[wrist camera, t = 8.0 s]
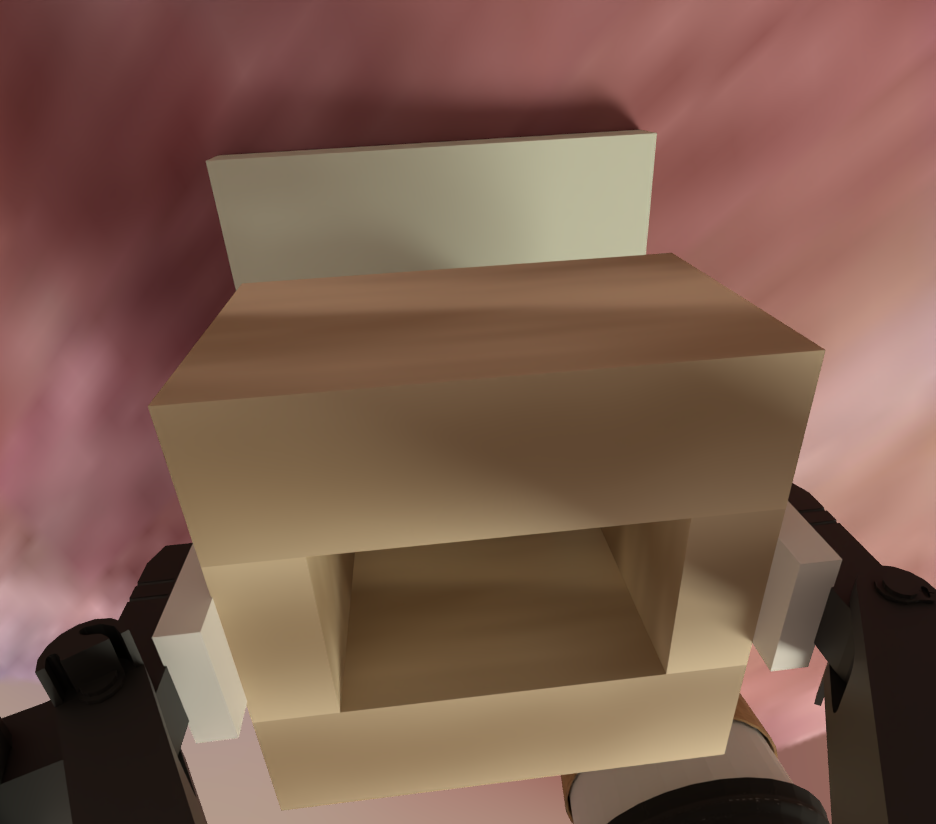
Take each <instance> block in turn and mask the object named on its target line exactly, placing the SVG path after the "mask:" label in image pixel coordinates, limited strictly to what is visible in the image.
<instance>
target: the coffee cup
mask: <svg viewBox="0 0 936 824" xmlns="http://www.w3.org/2000/svg"><path fill="white" fill-rule="evenodd" d="M561 779H562V787H563V793H564V801H565V807H566V812H567V814H568V816H569V818H570V820H571V822H572V823H573V824H830V823H829V821H828V818H827V815H826V812H825V810H824V808H823V806H822V804H821V802H820V801H819V800H818V799H817V798H816V797H815V796H814V795H812V794H811V793H810V792H809V791H807V790H805V789H803V788H801V787H799V786H796V785H794V783H793V782H792V780H791V779H790V777H789V776H788V774H787V773H786V771H785V770H784V768H783V766H782V765H781V763H780V762H779V760H778V758H777V750H776V746H775V745H774V743H773V741H772V739H771V737H770V736H769V734H768V733H767V731H766V730H765V729H764V727H763V726H762V724H761V723H760V721H759V720H758V718H757V717H756V716H755V714H754V713H753V711H752V710H751V708H750V707H749V705H748V704H747V703H746V701H745V700H744V698H743V697H742V695H741V694H739V698H738V702H737V706H736V710H735V714H734V718H733V722H732V726H731V730H730V734H729V738H728V742H727V746H726V750H725V754H722V755H715V756H707V757H699V758H691V759H683V760H675V761H667V762H660V763H652V764H644V765H636V766H628V767H620V768H612V769H604V770H597V771H589V772H581V773H573V774H565V775H561Z"/></svg>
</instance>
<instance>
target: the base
mask: <svg viewBox="0 0 936 824" xmlns="http://www.w3.org/2000/svg"><path fill="white" fill-rule="evenodd" d="M656 136H657V133H654V132H649V131H644V130H627V131H610V132H594V133H578V134H561V135H545V136H528V137H512V138H496V139H479V140H463V141H447V142H430V143H414V144H397V145H381V146H365V147H348V148H332V149H316V150H299V151H283V152H266V153H250V154H234V155H218V156H216V157H213V158H211V159H209V160H207V161H206V165H207V169H208V173H209V178H210V182H211V186H212V190H213V195H214V199H215V203H216V207H217V212H218V216H219V220H220V225H221V229H222V233H223V237H224V242H225V246H226V250H227V254H228V259H229V263H230V267H231V272H232V276H233V280H234V284H235V289H236V291H237V289H238V288H239V287H240V285H241V284H242V283H256V282H270V281H284V280H298V279H312V278H326V277H340V276H354V275H368V274H382V273H396V272H410V271H424V270H439V269H453V268H467V267H481V266H495V265H509V264H523V263H537V262H551V261H565V260H579V259H593V258H607V257H621V256H635V255H646V246H647V235H648V224H649V213H650V202H651V191H652V180H653V169H654V158H655V147H656Z"/></svg>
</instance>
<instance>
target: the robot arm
mask: <svg viewBox="0 0 936 824" xmlns="http://www.w3.org/2000/svg"><path fill="white" fill-rule="evenodd" d="M752 643H753V644H754V646H755V648H756V649H757V651H758V652H759V654H760V655H761V657H762V659H763V660H764V662H765V663H766V665H767V667H768V668H769V670H770V671H778V670H786V669H794V668H802V667H808V666H809V662H810V659H811V656H812V653H813V650H814V647H815V645H816V646H817V648H818V649H819V650H820V652H821V653H822V654H823V656H824V657H825V659H826V660H827V661H828V663H827V666H826V669H825V671H824V674H823V677H822V680H821V683H820V686H819V689H818V692H817V695H816V699H815V703H814V704H816V705H820V706H821V704H822V701H823V698H825V715H826V732H827V748H828V765H829V782H830V799H831V813H832V814H831V815H832V824H936V589H935V588H933V587H932V586H931V585H930V584H929V583H928V582H926V581H925V580H924V579H922V578H920V577H918V576H916V575H914V574H913V573H911V572H908V571H905V570H902V569H899V568H896V567H891V566H882V565H881V564H880V563H879V562H878V561H877V560H876V559H875V558H874V557H873V556H872V555H871V554H870V553H869V552H868V551H867V550H866V549H865V548H864V547H863V546H862V545H861V544H860V543H859V542H858V541H857V540H856V539H855V538H854V537H853V536H852V535H851V534H850V533H849V532H848V531H847V530H846V529H845V528H844V527H843V526H842V525H841V524H840V523H837V522H836V519H835V518H834V517H833V516H832V515H831V514H830V513H829V512H828V511H825V510H824V507H823V506H822V505H821V504H820V503H819V502H818V501H817V500H816V499H815V498H814V497H813V496H812V495H811V494H810V493H809V492H807V491H805V490H804V489H802V488H800V487H798V486H797V485H795V484H793V483H792V486H791V490H790V494H789V498H788V502H787V506H786V510H785V514H784V518H783V522H782V526H781V530H780V534H779V538H778V541H777V545H776V549H775V553H774V557H773V561H772V565H771V569H770V573H769V577H768V581H767V585H766V589H765V593H764V597H763V601H762V605H761V610H760V614H759V618H758V622H757V626H756V630H755V634H754V638H753V642H752ZM35 673H36V675H37V676H38V678H39V680H40V682H41V684H42V685H43V687H44V689H45V690H46V692H47V694H48V696H49V698H50V699H51V700H50V701H48V702H45V703H43V704H40V705H37V706H35V707H32V708H29V709H26V710H24V711H21V712H18V713H16V714H13V715H10V716H7V717H4V718H2V719H1V717H0V824H207V821H206V819H205V815H204V812H203V810H202V806H201V803H200V801H199V798H198V795H197V792H196V789H195V786H194V783H193V780H192V777H191V774H190V771H189V768H188V765H187V762H186V759H185V757H184V755H183V752H182V750H181V745H182V742H183V739H184V735H185V732H186V729H187V726H188V725H189V728H190V730H191V733H192V735H193V737H194V740H195V742H196V743H203V742H212V741H219V740H227V739H235V738H239V735H240V731H241V726H242V722H243V717H244V714H245V709H246V705H247V699H246V696H245V693H244V690H243V687H242V684H241V681H240V678H239V675H238V672H237V669H236V666H235V663H234V660H233V657H232V654H231V651H230V648H229V645H228V642H227V639H226V636H225V633H224V630H223V627H222V624H221V621H220V618H219V615H218V612H217V609H216V606H215V603H214V600H213V598H211V596H210V593H209V590H208V587H207V584H206V581H205V578H204V575H203V572H202V569H201V566H200V563H199V560H198V557H197V554H196V551H195V548H194V545H193V543H188V544H178V545H169V546H165V547H164V548H163V549H162V550H161V551H160V552H159V553H158V554H157V555H156V556H155V557H153V558H152V559H151V560H150V561H149V562H148V563H147V565H146V567H145V569H144V571H143V573H142V575H141V577H140V579H139V581H138V586H136V587H135V588H134V590H133V592H132V594H131V596H130V602H127V604H126V606H125V608H124V610H123V612H122V614H121V616H120V618H119V620H115V619H112V618H106V619H94V620H91V621H88V622H85V623H82V624H79V625H77V626H75V627H73V628H71V629H69V630H68V631H66V632H64V633H62V634H61V635H60V636H58V637H57V638H56V639H55V640H54V641H53V642H51V643H50V644H49V645H48V646H47V647H46V648H45V650H44V651H43V653H42V654H41V656H40V657H39V659H38V660H37V666H36V671H35Z"/></svg>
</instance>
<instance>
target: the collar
mask: <svg viewBox="0 0 936 824" xmlns="http://www.w3.org/2000/svg"><path fill="white" fill-rule="evenodd" d="M824 354H825V349H823V348H822V347H820V346H818V345H817V344H815V343H814V342H812V341H810V340H809V339H807V338H806V337H804V336H803V335H801V334H799V333H798V332H796V331H795V330H793V329H791V328H790V327H788V326H787V325H785V324H784V323H782V322H780V321H779V320H777V319H776V318H774V317H773V316H771V315H769V314H768V313H766V312H765V311H763V310H761V309H760V308H758V307H757V306H755V305H754V304H752V303H750V302H749V301H747V300H746V299H744V298H742V297H741V296H739V295H738V294H736V293H735V292H733V291H731V290H730V289H728V288H727V287H725V286H723V285H722V284H720V283H719V282H717V281H716V280H714V279H712V278H711V277H709V276H708V275H706V274H704V273H703V272H701V271H700V270H698V269H697V268H695V267H693V266H692V265H690V264H689V263H687V262H686V261H684V260H682V259H681V258H679V257H678V256H676V255H674V254H673V253H663V254H649V255H635V256H621V257H607V258H593V259H579V260H565V261H551V262H537V263H523V264H509V265H495V266H481V267H467V268H453V269H439V270H424V271H410V272H396V273H382V274H368V275H354V276H340V277H326V278H312V279H298V280H284V281H270V282H256V283H242V284H241V285H240V287H239V288H238V289H237V291H236V292H235V293H234V295H233V296H232V297H231V298H230V300H229V301H228V302H227V304H226V305H225V306H224V308H223V309H222V310H221V312H220V313H219V314H218V315H217V317H216V318H215V319H214V321H213V322H212V323H211V325H210V326H209V327H208V328H207V330H206V331H205V332H204V334H203V335H202V336H201V338H200V339H199V340H198V342H197V343H196V344H195V345H194V347H193V348H192V349H191V351H190V352H189V353H188V355H187V356H186V357H185V359H184V360H183V361H182V362H181V364H180V365H179V366H178V368H177V369H176V370H175V372H174V373H173V374H172V375H171V377H170V378H169V379H168V381H167V382H166V383H165V385H164V386H163V387H162V389H161V390H160V391H159V392H158V394H157V395H156V396H155V398H154V399H153V400H152V402H151V403H150V404H149V405H148V408H149V412H150V415H151V418H152V421H153V424H154V427H155V430H156V433H157V436H158V439H159V442H160V445H161V448H162V451H163V454H164V457H165V460H166V463H167V466H168V469H169V472H170V475H171V478H172V481H173V484H174V487H175V490H176V493H177V496H178V499H179V502H180V505H181V508H182V511H183V514H184V517H185V520H186V523H187V526H188V529H189V533H190V536H191V539H192V542H193V545H194V548H195V551H196V554H197V557H198V560H199V563H200V566H201V569H202V572H203V575H204V578H205V581H206V584H207V587H208V590H209V593H210V596H211V598H213V600H214V603H215V606H216V609H217V612H218V615H219V618H220V621H221V624H222V627H223V630H224V633H225V636H226V639H227V642H228V645H229V648H230V651H231V654H232V657H233V660H234V663H235V666H236V669H237V672H238V675H239V678H240V681H241V684H242V687H243V690H244V693H245V696H246V699H247V708H248V711H249V714H250V717H251V720H252V723H253V726H254V729H255V732H256V735H257V738H258V741H259V744H260V747H261V750H262V753H263V756H264V759H265V762H266V765H267V768H268V771H269V775H270V778H271V780H272V784H273V787H274V789H275V793H276V796H277V799H278V801H279V805H280V808H281V810H290V809H297V808H305V807H313V806H321V805H329V804H337V803H344V802H353V801H361V800H368V799H376V798H384V797H392V796H400V795H408V794H415V793H423V792H431V791H439V790H447V789H454V788H463V787H471V786H478V785H486V784H494V783H502V782H510V781H518V780H526V779H533V778H542V777H549V776H557V775H565V774H573V773H581V772H589V771H597V770H604V769H612V768H620V767H628V766H636V765H644V764H652V763H660V762H667V761H675V760H683V759H691V758H699V757H707V756H715V755H722V754H725V750H726V746H727V742H728V738H729V734H730V730H731V726H732V722H733V718H734V714H735V710H736V706H737V702H738V698H739V694H740V690H741V686H742V682H743V678H744V674H745V670H746V666H747V662H748V658H749V654H750V650H751V646H752V642H753V638H754V634H755V630H756V626H757V622H758V618H759V614H760V610H761V605H762V601H763V597H764V593H765V589H766V585H767V581H768V577H769V573H770V569H771V565H772V561H773V557H774V553H775V549H776V545H777V541H778V538H779V534H780V530H781V526H782V522H783V518H784V514H785V510H786V506H787V502H788V498H789V494H790V490H791V486H792V482H793V478H794V474H795V470H796V466H797V462H798V458H799V454H800V450H801V446H802V442H803V438H804V434H805V430H806V426H807V422H808V418H809V414H810V410H811V406H812V402H813V398H814V394H815V390H816V386H817V382H818V378H819V374H820V370H821V366H822V362H823V358H824Z"/></svg>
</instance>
